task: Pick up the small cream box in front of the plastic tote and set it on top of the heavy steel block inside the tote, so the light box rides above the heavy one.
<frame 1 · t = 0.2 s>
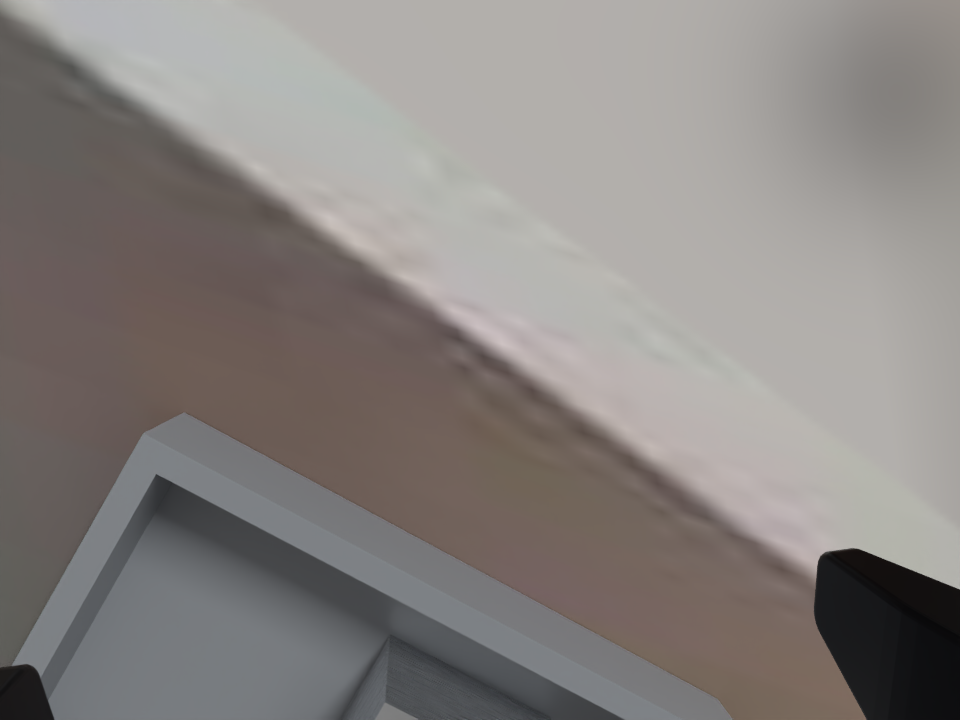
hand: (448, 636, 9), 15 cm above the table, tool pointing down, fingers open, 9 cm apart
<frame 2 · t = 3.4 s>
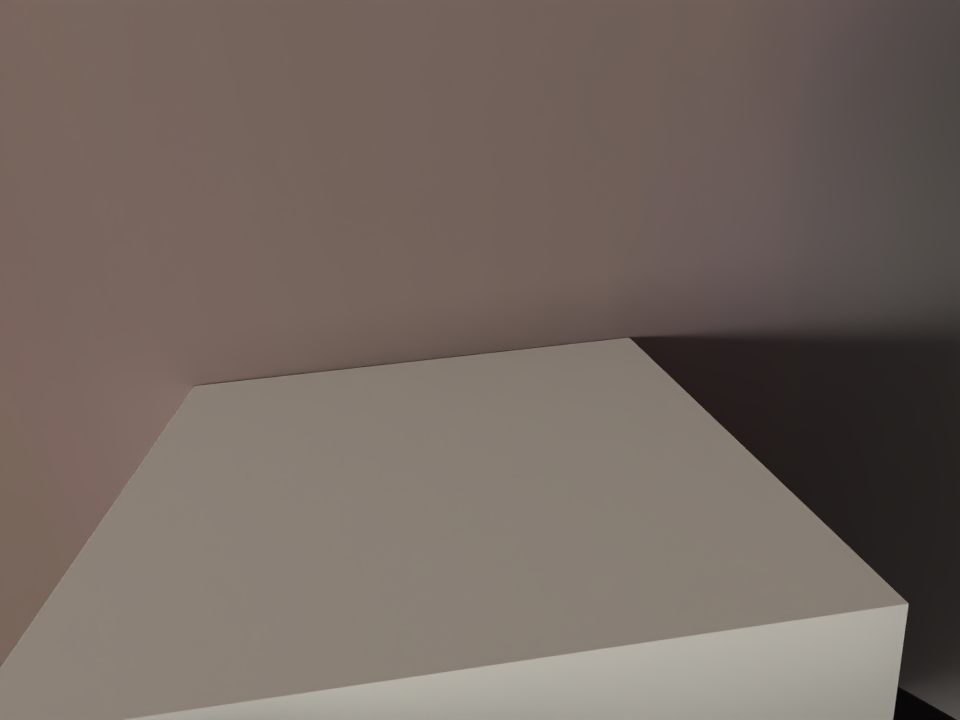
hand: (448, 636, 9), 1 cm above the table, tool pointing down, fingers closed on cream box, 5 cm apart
cream box: (441, 582, 10), on the table, touching gripper
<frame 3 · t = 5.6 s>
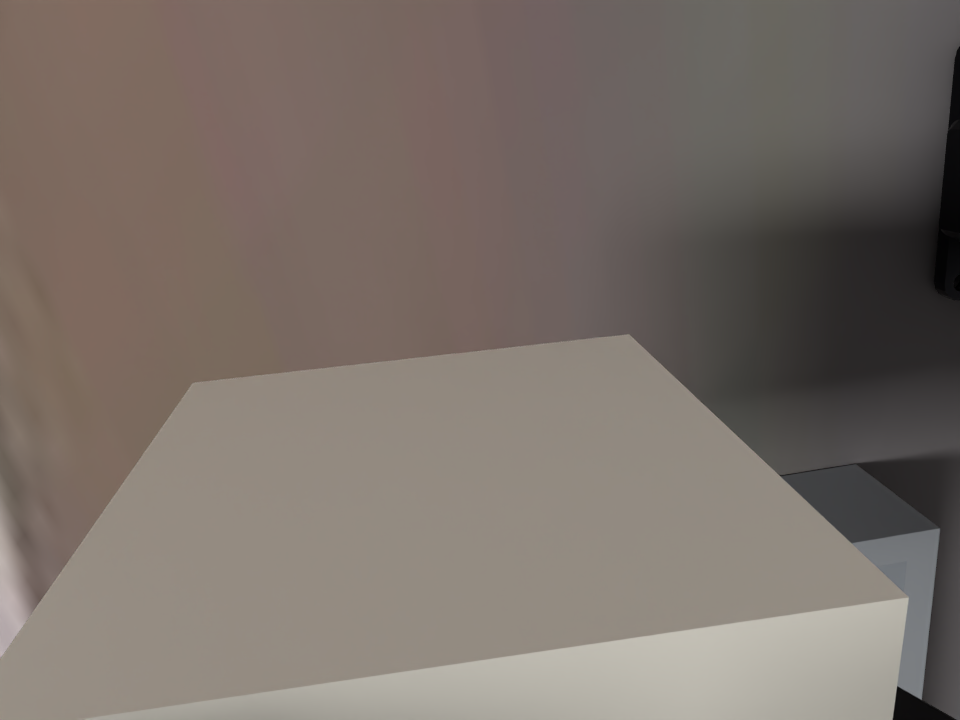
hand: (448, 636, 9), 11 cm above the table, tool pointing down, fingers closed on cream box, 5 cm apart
cream box: (441, 579, 10), point 10 cm above the table, touching gripper
when the fingers open (6 cm above the table, at t = 8.0 s): cream box stays where it is, resting on steel block.
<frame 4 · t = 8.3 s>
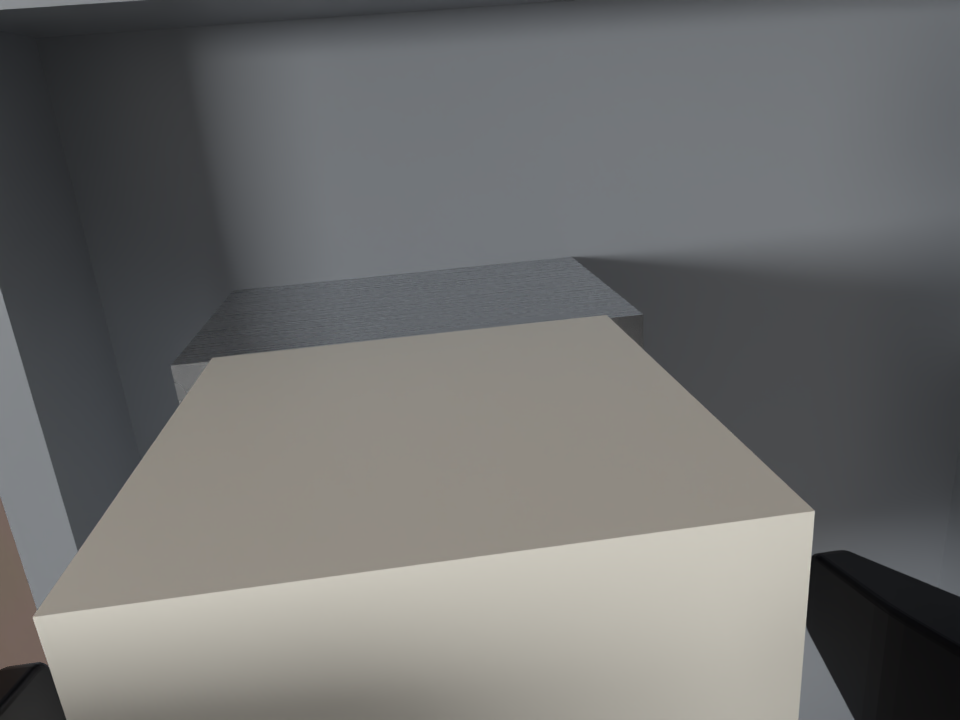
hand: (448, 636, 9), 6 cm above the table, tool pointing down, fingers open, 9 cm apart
steel block: (422, 427, 14), resting on tote, touching cream box
cream box: (436, 540, 10), point 4 cm above the table, touching steel block
tote: (574, 488, 16), on the table
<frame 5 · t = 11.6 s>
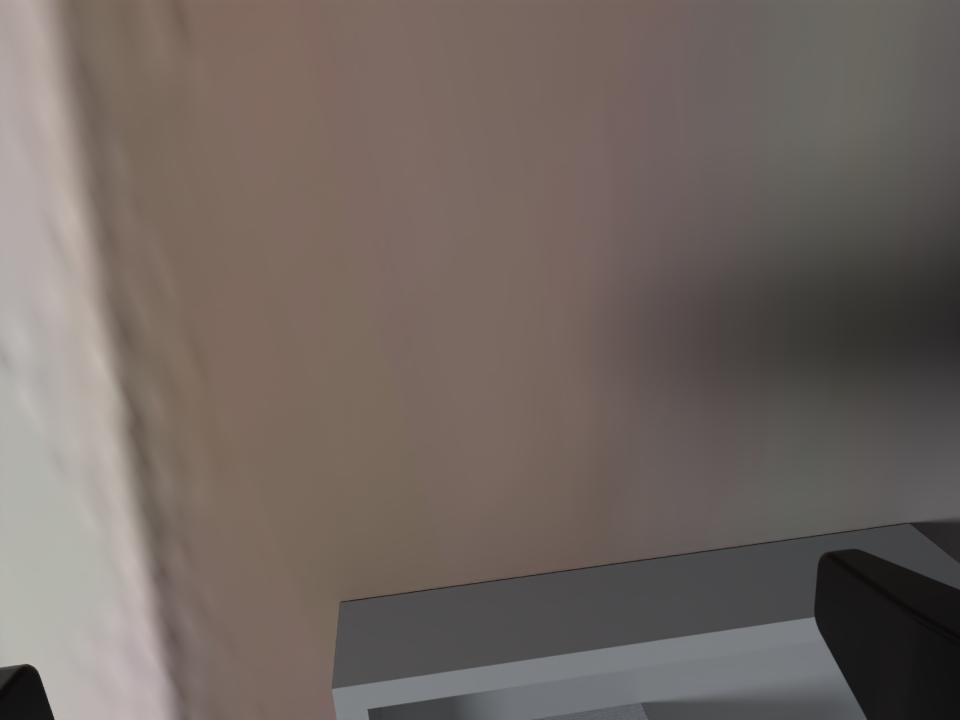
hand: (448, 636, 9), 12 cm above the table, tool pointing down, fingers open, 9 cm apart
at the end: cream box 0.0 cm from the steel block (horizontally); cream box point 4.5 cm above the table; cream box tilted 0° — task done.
